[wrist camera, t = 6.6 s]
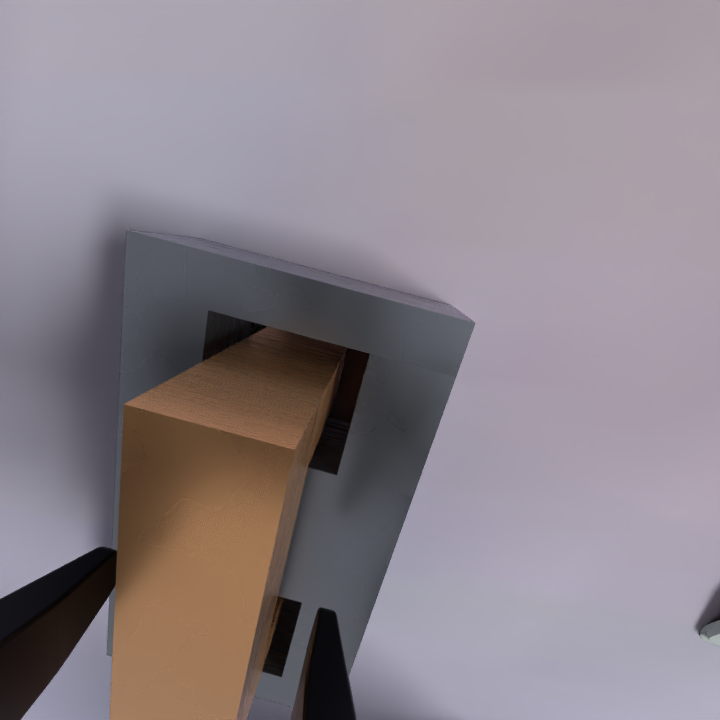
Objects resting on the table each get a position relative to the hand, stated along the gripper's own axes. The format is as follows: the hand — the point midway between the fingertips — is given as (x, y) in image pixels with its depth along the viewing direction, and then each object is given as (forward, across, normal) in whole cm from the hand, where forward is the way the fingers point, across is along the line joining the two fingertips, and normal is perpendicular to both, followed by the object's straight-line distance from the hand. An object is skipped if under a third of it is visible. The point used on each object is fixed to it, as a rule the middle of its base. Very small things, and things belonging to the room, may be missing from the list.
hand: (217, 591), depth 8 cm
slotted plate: (+5, 0, 0) cm, 5 cm away
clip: (+5, 0, 0) cm, 5 cm away
